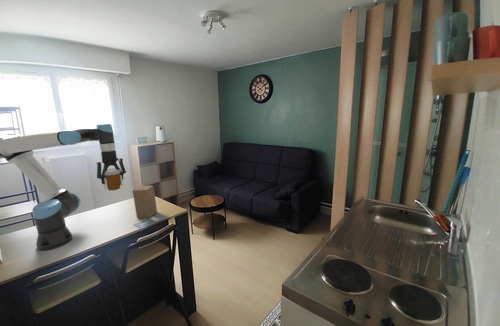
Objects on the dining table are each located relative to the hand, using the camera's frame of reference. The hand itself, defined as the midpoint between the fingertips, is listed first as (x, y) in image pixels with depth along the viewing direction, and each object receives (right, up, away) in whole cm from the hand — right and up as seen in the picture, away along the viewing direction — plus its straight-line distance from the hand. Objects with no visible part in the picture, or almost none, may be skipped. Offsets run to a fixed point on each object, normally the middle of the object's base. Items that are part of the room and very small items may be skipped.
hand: (113, 186), depth 135 cm
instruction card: (+18, -24, +11) cm, 32 cm away
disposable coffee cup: (0, -1, 0) cm, 2 cm away
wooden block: (+11, -22, +20) cm, 32 cm away
